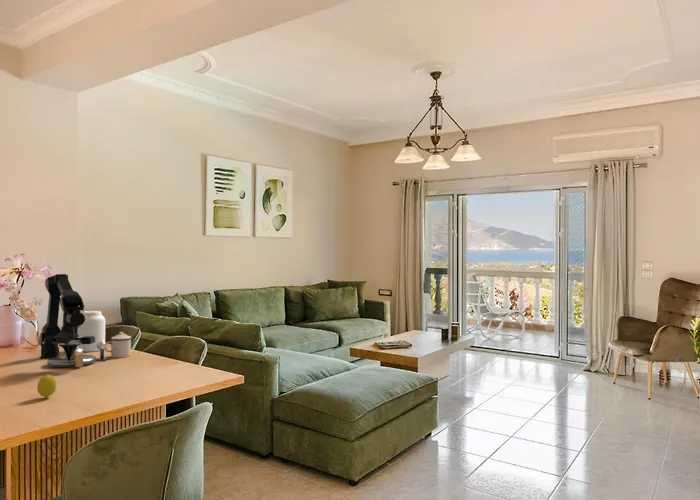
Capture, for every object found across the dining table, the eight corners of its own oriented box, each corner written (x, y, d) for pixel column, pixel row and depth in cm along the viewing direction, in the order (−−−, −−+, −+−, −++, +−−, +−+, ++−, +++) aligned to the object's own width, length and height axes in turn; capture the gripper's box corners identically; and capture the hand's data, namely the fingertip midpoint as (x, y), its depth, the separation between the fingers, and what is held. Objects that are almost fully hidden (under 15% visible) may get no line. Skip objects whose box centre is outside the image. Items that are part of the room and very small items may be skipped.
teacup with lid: (130, 353, 253) (130, 330, 253) (131, 357, 245) (132, 332, 245) (103, 355, 248) (104, 331, 248) (104, 359, 240) (104, 334, 240)
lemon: (42, 395, 176) (42, 372, 176) (59, 395, 176) (59, 372, 176) (33, 400, 170) (34, 376, 170) (51, 400, 171) (51, 376, 171)
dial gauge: (95, 361, 235) (96, 341, 235) (99, 359, 239) (99, 340, 239) (105, 361, 235) (105, 341, 235) (108, 359, 239) (108, 340, 239)
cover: (66, 360, 223) (66, 348, 224) (63, 358, 229) (63, 346, 229) (84, 358, 228) (84, 347, 228) (80, 356, 233) (80, 344, 233)
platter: (54, 369, 212) (54, 357, 212) (43, 361, 229) (43, 350, 229) (103, 364, 225) (103, 352, 225) (89, 356, 241) (89, 345, 241)
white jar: (110, 348, 268) (110, 310, 268) (93, 352, 256) (93, 312, 256) (89, 347, 271) (90, 309, 271) (72, 351, 258) (72, 312, 259)
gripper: (37, 326, 210) (36, 364, 209) (85, 326, 212) (84, 364, 211) (50, 322, 221) (49, 358, 220) (96, 322, 223) (95, 358, 223)
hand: (69, 360), depth 218 cm, fingers closed
